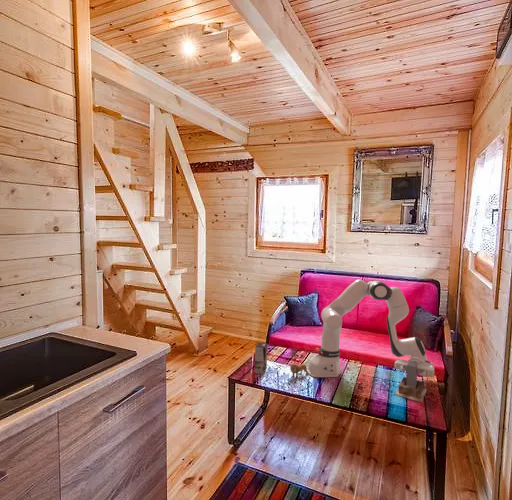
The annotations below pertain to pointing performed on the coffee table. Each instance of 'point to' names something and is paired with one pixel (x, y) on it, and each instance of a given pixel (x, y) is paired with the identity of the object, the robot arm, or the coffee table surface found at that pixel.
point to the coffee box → (260, 358)
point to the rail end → (412, 375)
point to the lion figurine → (298, 369)
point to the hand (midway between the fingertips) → (411, 372)
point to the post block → (411, 391)
